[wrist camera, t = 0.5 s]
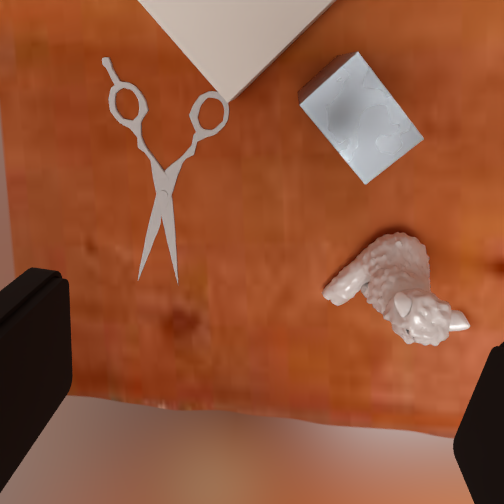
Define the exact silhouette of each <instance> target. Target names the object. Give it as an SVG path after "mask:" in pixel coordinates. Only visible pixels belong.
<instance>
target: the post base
mask: <svg viewBox="0 0 504 504" xmlns="http://www.w3.org/2000/svg"><path fill="white" fill-rule="evenodd" d="M138 1H139V2H140V3H141V4H142V6H143V7H144V8H145V9H146V10H147V11H148V12H149V14H150V15H151V16H152V17H153V18H154V19H155V20H156V22H157V23H158V24H159V25H160V26H161V27H162V28H163V30H164V31H165V32H166V33H167V34H168V35H169V36H170V38H171V39H172V40H173V41H174V42H175V43H176V44H177V46H178V47H179V48H180V49H181V50H182V51H183V53H184V54H185V55H186V56H187V57H188V58H189V59H190V61H191V62H192V63H193V64H194V65H195V66H196V67H197V69H198V70H199V71H200V72H201V73H202V74H203V75H204V77H205V78H206V79H207V80H208V81H209V82H210V83H211V85H212V86H213V87H214V88H215V89H216V90H217V91H218V93H219V94H220V95H221V96H222V97H223V98H224V99H225V101H226V102H227V103H229V102H230V101H232V100H234V99H235V98H237V97H238V96H239V95H240V94H241V93H242V92H243V91H244V90H245V89H246V88H247V87H248V86H249V85H250V84H251V83H252V82H253V81H254V80H255V79H256V78H257V77H258V76H259V75H260V74H261V73H262V72H263V71H264V70H265V69H266V68H267V67H268V66H269V65H270V64H272V63H273V62H274V61H275V60H276V59H277V58H278V57H279V56H280V55H281V54H282V53H283V52H284V51H285V50H286V49H287V48H288V47H289V46H290V45H291V44H292V43H293V42H294V41H295V40H296V39H297V38H298V37H299V36H300V35H301V34H302V33H303V32H304V31H305V30H306V29H308V28H309V27H310V26H311V25H312V24H313V23H314V22H315V21H316V20H317V19H318V18H319V17H320V16H321V15H322V14H323V13H324V12H325V11H326V10H327V9H328V8H329V7H330V6H331V5H332V4H333V3H334V2H335V1H336V0H138Z"/></svg>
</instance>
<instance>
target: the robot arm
mask: <svg viewBox="0 0 504 504" xmlns="http://www.w3.org/2000/svg"><path fill="white" fill-rule="evenodd" d="M71 383H72V351H71V324H70V297H69V283H68V280H66V279H62V276H61V273H60V272H58V271H53V270H47V269H40V268H33V267H32V268H30V269H28V270H27V271H25V272H24V273H23V274H21V275H20V276H19V277H18V278H16V279H15V280H14V281H13V282H11V283H10V284H9V285H7V286H6V287H5V288H4V289H2V290H1V291H0V493H1V491H2V490H3V488H4V487H5V485H6V484H7V482H8V480H9V479H10V478H11V476H12V475H13V473H14V472H15V470H16V469H17V467H18V466H19V464H20V463H21V462H22V460H23V459H24V457H25V456H26V454H27V453H28V451H29V450H30V448H31V447H32V445H33V444H34V442H35V441H36V439H37V438H38V436H39V435H40V433H41V432H42V430H43V429H44V427H45V426H46V425H47V423H48V422H49V420H50V418H51V417H52V416H53V414H54V413H55V411H56V410H57V408H58V407H59V405H60V404H61V402H62V401H63V399H64V398H65V396H66V395H67V393H68V392H69V389H70V387H71ZM453 450H454V455H455V458H456V460H457V463H458V465H459V468H460V470H461V472H462V474H463V477H464V480H465V482H466V484H467V487H468V489H469V492H470V494H471V496H472V499H473V501H474V503H475V504H504V342H503V343H502V344H501V345H500V346H496V347H494V348H493V349H492V350H491V352H490V354H489V356H488V359H487V361H486V363H485V366H484V368H483V371H482V373H481V375H480V378H479V380H478V383H477V385H476V387H475V390H474V392H473V395H472V397H471V399H470V402H469V404H468V407H467V409H466V411H465V414H464V416H463V419H462V421H461V423H460V426H459V428H458V431H457V433H456V435H455V438H454V443H453Z"/></svg>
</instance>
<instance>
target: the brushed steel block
mask: <svg viewBox="0 0 504 504" xmlns="http://www.w3.org/2000/svg"><path fill="white" fill-rule="evenodd" d="M298 98H299V105H300V106H301V107H302V109H303V110H304V111H305V112H306V114H307V115H308V116H309V117H310V118H311V120H312V121H313V122H314V123H315V124H316V126H317V127H318V128H319V129H320V130H321V132H322V133H323V134H324V135H325V137H326V138H327V139H328V140H329V141H330V143H331V144H332V145H333V146H334V147H335V149H336V150H337V151H338V152H339V153H340V155H341V156H342V157H343V158H344V160H345V161H346V162H347V163H348V164H349V166H350V167H351V168H352V169H353V170H354V172H355V173H356V174H357V175H358V177H359V178H360V179H361V180H362V181H363V183H364V184H365V185H366V184H367V183H368V182H370V181H371V180H372V179H373V178H375V177H376V176H377V175H379V174H380V173H381V172H382V171H384V170H385V169H386V168H387V167H389V166H390V165H391V164H393V163H394V162H395V161H396V160H398V159H399V158H400V157H401V156H403V155H404V154H405V153H407V152H408V151H409V150H410V149H412V148H413V147H414V146H415V145H417V144H418V143H419V142H421V141H422V140H423V139H424V138H423V137H422V135H421V134H420V133H419V131H418V130H417V129H416V127H415V126H414V125H413V123H412V122H411V121H410V120H409V118H408V117H407V116H406V114H405V113H404V112H403V110H402V109H401V108H400V106H399V105H398V104H397V102H396V101H395V100H394V98H393V97H392V96H391V94H390V93H389V92H388V91H387V89H386V88H385V87H384V85H383V84H382V83H381V81H380V80H379V79H378V77H377V76H376V75H375V73H374V72H373V71H372V69H371V68H370V67H369V65H368V64H367V63H366V62H365V60H364V59H363V58H362V56H361V55H360V54H359V52H354V53H348V54H343V55H337V56H336V57H335V58H334V59H333V60H332V61H331V62H330V63H329V64H328V65H327V66H325V67H324V68H323V69H322V70H321V71H320V72H319V73H318V74H317V75H316V76H315V77H314V78H312V79H311V80H310V81H309V82H308V83H307V84H306V85H305V86H304V87H303V88H302V89H301V90H299V91H298Z"/></svg>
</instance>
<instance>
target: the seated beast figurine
mask: <svg viewBox="0 0 504 504" xmlns="http://www.w3.org/2000/svg"><path fill="white" fill-rule="evenodd" d="M428 261H429V256H428V255H427V253H426V247H425V245H423V244H421V243H420V242H419V240H418V239H417V238H416V237H411V236H408V235H407V234H406V233H403V232H402V233H399V232H396V233H394V234H392V235H391V234H385V235H384V236H382V237H378V238H377V239H376V241H375V242H373V243H372V244H369V246H368V248H365V249H364V250H363V251H361V254H359V255H358V256H357V257H356V259H355V260H353V261H352V262H351V263H350V264H348V266H345V267H344V268H343V270H342V271H340V272H339V274H338V275H337V276H336V277H334V278H333V279H332V281H331V282H330V283H329V284H328V285H327V286H326V287H325V288H324V290H323V291H322V294H323V296H324V297H325V298H326V299H327V300H331V302H332V303H333V304H335V305H337V306H339V305H342V304H344V303H345V302H347V301H348V300H349V299H351V298H353V297H354V296H355V294H356V293H357V292H359V290H360V289H361V292H362V293H363V295H364V296H365V297H366V298H367V303H369V304H372V305H373V308H375V309H376V310H377V311H378V312H380V313H381V314H383V318H384V319H385V320H388V321H390V322H391V323H392V329H393V331H394V332H395V333H396V334H398V335H400V337H401V338H403V339H404V341H405V343H407V344H411V343H413V342H416V343H422V344H423V345H429V344H432V345H434V346H437V345H438V344H439V343H440V342H441V341H445V340H446V339H447V338H448V337H449V334H448V333H449V331H460V330H465V329H468V328H469V327H470V324H469V322H468V321H467V319H466V317H465V316H464V314H463V313H462V312H461V311H459V310H451V306H450V304H449V303H448V302H447V301H443V300H440V299H439V298H438V297H437V296H436V295H435V294H434V293H431V290H430V288H431V286H430V279H429V277H430V268H429V266H430V265H429V264H428Z"/></svg>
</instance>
